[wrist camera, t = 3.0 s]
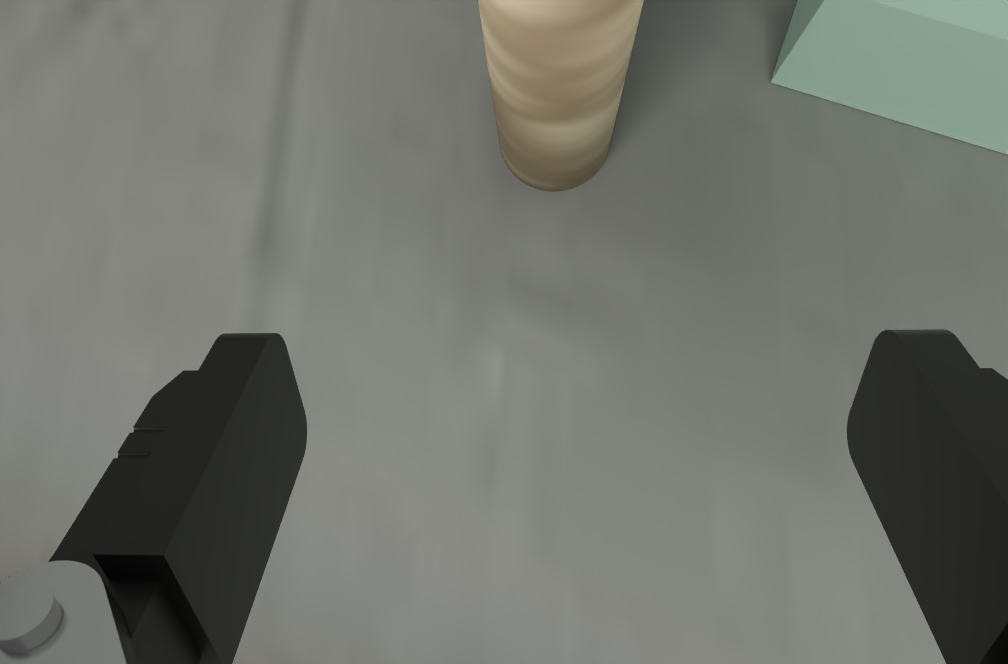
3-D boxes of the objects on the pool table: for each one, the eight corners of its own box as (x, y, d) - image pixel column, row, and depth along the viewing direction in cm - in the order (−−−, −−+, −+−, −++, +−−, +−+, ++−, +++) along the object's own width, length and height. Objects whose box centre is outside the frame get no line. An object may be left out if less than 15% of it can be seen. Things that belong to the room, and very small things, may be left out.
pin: (484, 171, 23) (441, -16, 14) (521, 72, 24) (506, -180, 14) (588, 205, 23) (623, 39, 13) (625, 104, 24) (683, -130, 14)
